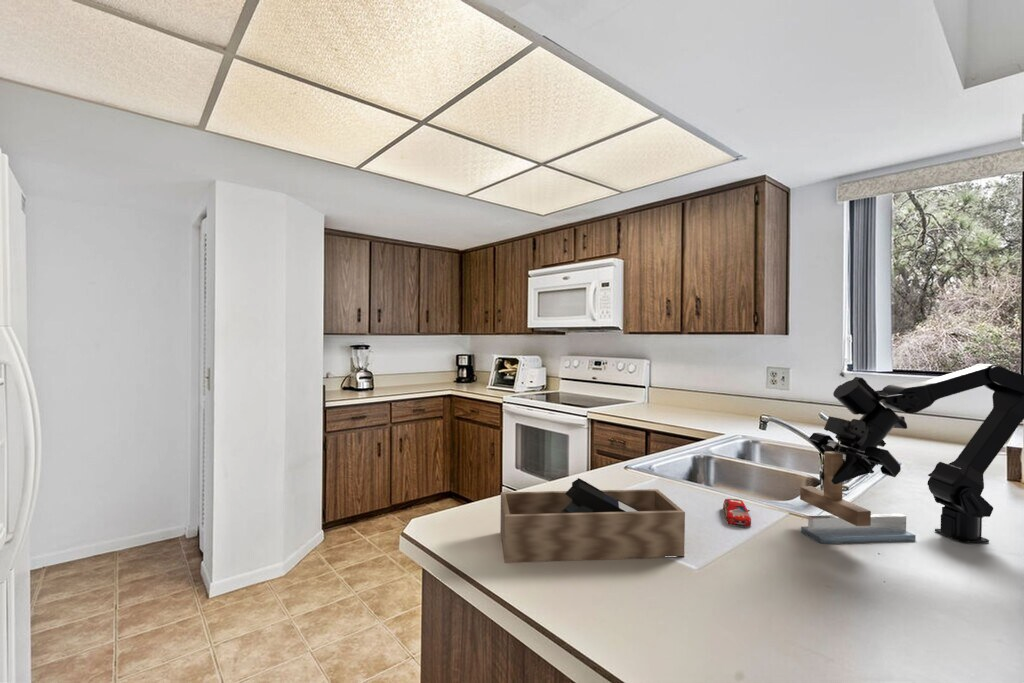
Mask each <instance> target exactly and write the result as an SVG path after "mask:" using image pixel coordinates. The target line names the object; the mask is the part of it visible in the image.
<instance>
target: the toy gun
mask: <svg viewBox="0 0 1024 683" xmlns="http://www.w3.org/2000/svg"><path fill="white" fill-rule="evenodd" d="M566 491H567V492H566V493H565V494H566V495H567V496H568V497H570V498H571V499H572V502H571V503H570V504H569V505H568V506H567V507H566V508H565V509H564V510H563V511H562V512H561V513H591V512H633V511H639V510H637V509H635V508H633V507H631V506H629V505H628V504H626V503H624V502H622V501H620V500H618V499H617V500H616V499H614V498H612V497H611V496H609V495H607V494H605V493H604V492H603V491H601V489H599V488H598V487H597V486H596V487H595V486H594V485H592V484H591V483H588V481H585V480H583V479H581V478H577V479H575V480H574V481H572V483H571V487H570V488H569V489H568V490H566Z"/></svg>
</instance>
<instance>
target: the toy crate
mask: <svg viewBox="0 0 1024 683" xmlns="http://www.w3.org/2000/svg"><path fill="white" fill-rule="evenodd" d="M600 490H601V489H600ZM567 491H568V490H557V491H555V490H554V491H553V490H550V491H507V492H506V491H505V492H504V491H502V492H500V522H499V523H500V527H499V528H500V532H499V533H500V539H501V546H502V553H503V560H504V564H507V563H508V564H509V563H534V562H535V563H536V562H538V563H541V562H564V561H565V562H567V561H569V562H570V561H597V560H598V559H599V560H602V559H603V560H604V559H605V560H626V559H625V558H636V559H653V558H652V557H665V556H684V557H685V545H686V544H685V540H686V538H685V533H686V532H685V530H686V527H685V526H686V511H684V510H683V509H682V508H680V506H678V505H677V504H676V503H674V501H672V500H671V499H670V498H669V497H668V496H667V495H665V494H664V493H663V492H661V491H660V490H659V489H656V488H653V489H651V488H650V489H646V488H645V489H609V490H608V489H605V490H603V489H602V490H601V491H603V492H604V493H605V494H607V495H609V496H611V497H612V498H614V499H616V500H617V499H618V500H620V501H622V502H624V503H626V504H628V505H629V506H631V507H633V508H635V509H637V510H639V511H633V512H591V513H561V512H562V511H563V510H564V509H565V508H566V507H567V506H568V505H569V504H570V503H571V502H572V499H571V498H570V497H568V496H567V495H566V494H565V493H566V492H567ZM650 557H651V558H650ZM623 558H624V559H623ZM599 560H598V561H599ZM603 560H602V561H603Z"/></svg>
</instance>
